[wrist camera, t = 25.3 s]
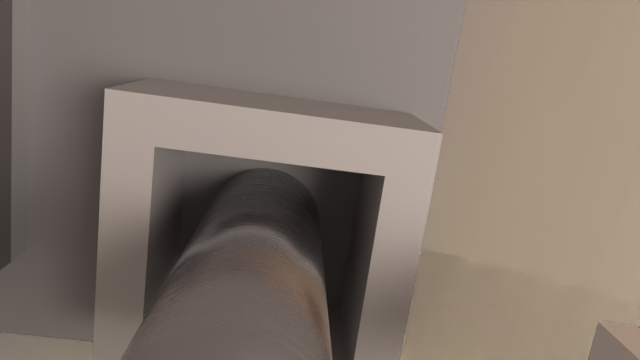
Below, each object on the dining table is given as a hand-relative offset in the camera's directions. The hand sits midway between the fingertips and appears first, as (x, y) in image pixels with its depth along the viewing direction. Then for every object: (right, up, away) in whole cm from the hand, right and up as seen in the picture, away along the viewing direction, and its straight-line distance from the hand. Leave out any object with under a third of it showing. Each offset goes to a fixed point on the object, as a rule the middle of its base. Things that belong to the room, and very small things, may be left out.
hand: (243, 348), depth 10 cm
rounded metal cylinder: (0, +2, +7) cm, 8 cm away
